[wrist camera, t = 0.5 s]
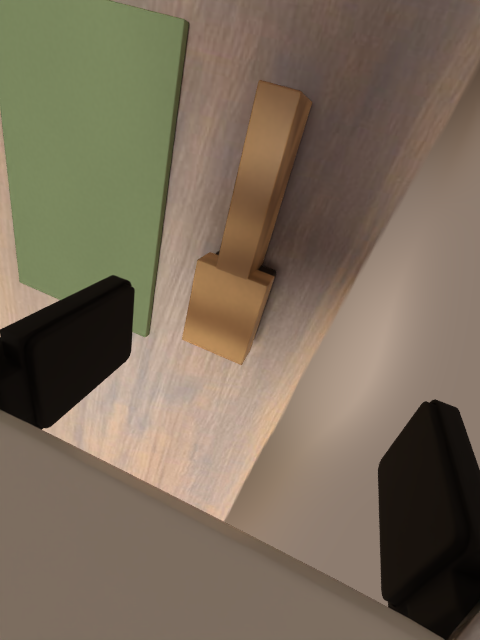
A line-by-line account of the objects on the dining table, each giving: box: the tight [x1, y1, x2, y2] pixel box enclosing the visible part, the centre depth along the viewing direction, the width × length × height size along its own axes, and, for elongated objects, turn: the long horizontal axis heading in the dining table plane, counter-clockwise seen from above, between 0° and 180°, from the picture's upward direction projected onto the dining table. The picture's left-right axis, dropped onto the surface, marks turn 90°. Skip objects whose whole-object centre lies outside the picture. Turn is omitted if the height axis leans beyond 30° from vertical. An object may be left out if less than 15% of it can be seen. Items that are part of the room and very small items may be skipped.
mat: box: [0, 0, 189, 337], centre depth 25 cm, size 22×14×1 cm, turn 165°
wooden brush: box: [182, 80, 312, 365], centre depth 21 cm, size 16×5×4 cm, turn 165°
